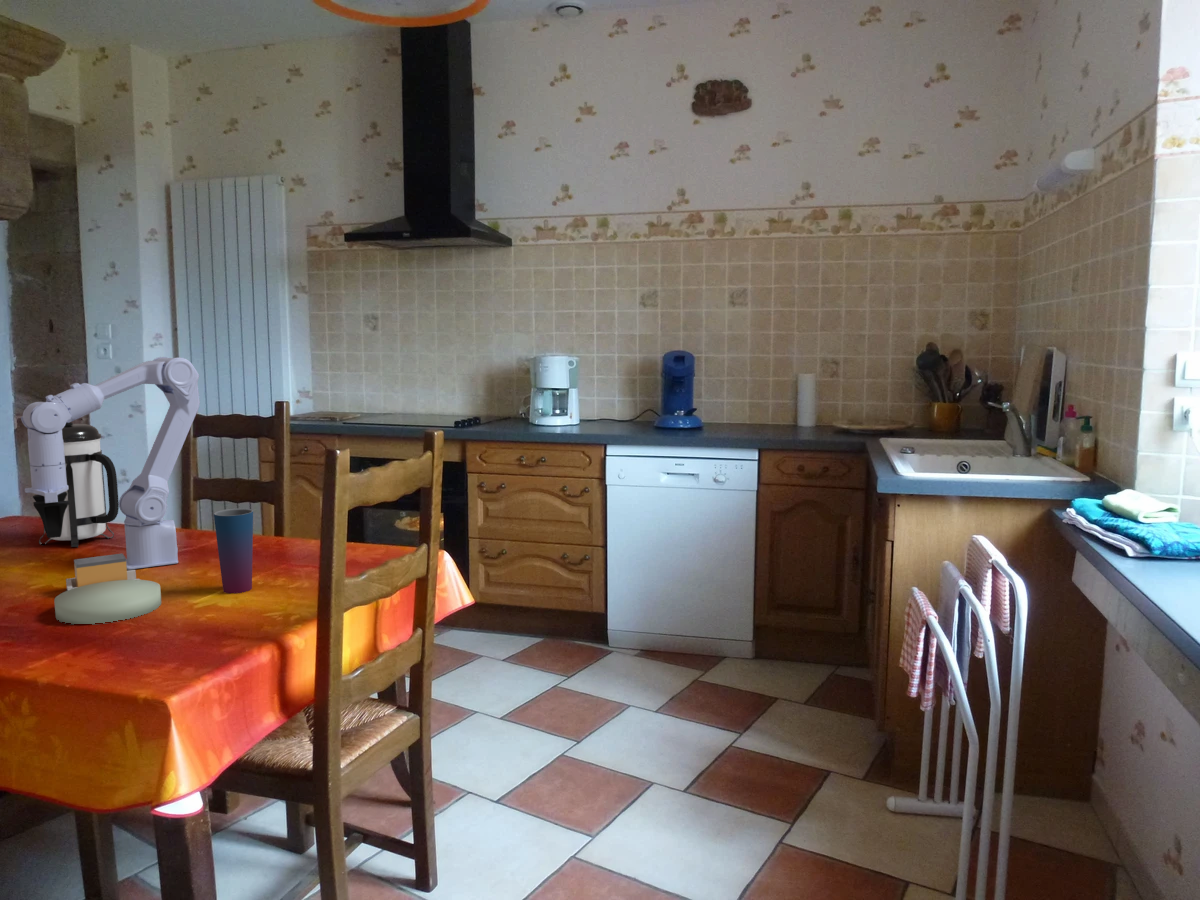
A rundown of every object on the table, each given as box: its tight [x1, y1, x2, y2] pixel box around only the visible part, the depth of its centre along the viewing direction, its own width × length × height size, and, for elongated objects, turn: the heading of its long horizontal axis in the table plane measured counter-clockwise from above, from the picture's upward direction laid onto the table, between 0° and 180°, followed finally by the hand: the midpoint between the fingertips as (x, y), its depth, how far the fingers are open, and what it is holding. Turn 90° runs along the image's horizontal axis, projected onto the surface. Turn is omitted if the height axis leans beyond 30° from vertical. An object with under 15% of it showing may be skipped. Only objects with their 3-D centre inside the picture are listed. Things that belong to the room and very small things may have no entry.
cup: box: [213, 507, 254, 594], centre depth 158 cm, size 7×7×15 cm
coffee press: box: [38, 422, 120, 548], centre depth 193 cm, size 17×16×30 cm
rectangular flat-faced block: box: [73, 553, 128, 587], centre depth 158 cm, size 8×4×6 cm, turn 126°
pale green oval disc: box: [54, 569, 162, 625], centre depth 151 cm, size 16×26×3 cm, turn 34°
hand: (53, 533), depth 163 cm, fingers open, 7 cm apart
